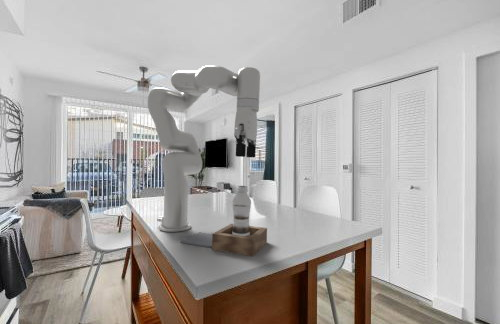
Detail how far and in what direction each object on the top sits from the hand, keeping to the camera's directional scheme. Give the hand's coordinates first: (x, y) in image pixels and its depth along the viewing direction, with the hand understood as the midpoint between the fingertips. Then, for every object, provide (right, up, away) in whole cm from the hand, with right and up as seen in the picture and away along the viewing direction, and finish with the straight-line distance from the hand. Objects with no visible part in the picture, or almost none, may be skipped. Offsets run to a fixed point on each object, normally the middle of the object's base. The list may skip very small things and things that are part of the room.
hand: (245, 156), depth 82 cm
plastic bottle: (-2, -30, 0) cm, 30 cm away
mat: (-15, -30, +5) cm, 33 cm away
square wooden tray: (-2, -30, 0) cm, 30 cm away
